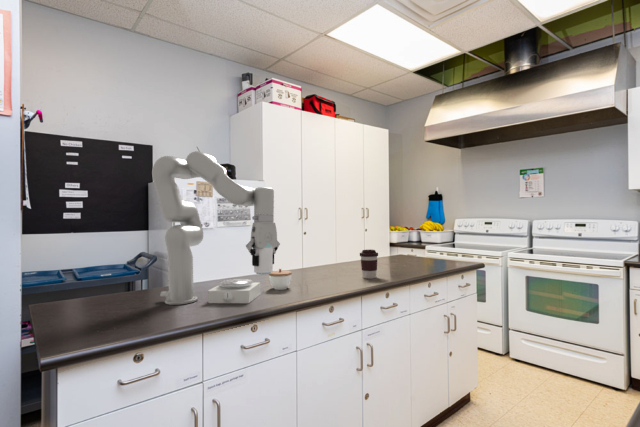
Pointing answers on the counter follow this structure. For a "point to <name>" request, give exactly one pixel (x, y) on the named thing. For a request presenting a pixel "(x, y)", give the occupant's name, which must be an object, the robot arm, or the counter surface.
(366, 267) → the coffee cup
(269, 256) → the can
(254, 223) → the robot arm
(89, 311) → the counter surface
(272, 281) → the lidded jar
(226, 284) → the scale pan
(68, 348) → the counter surface
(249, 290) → the scale base
